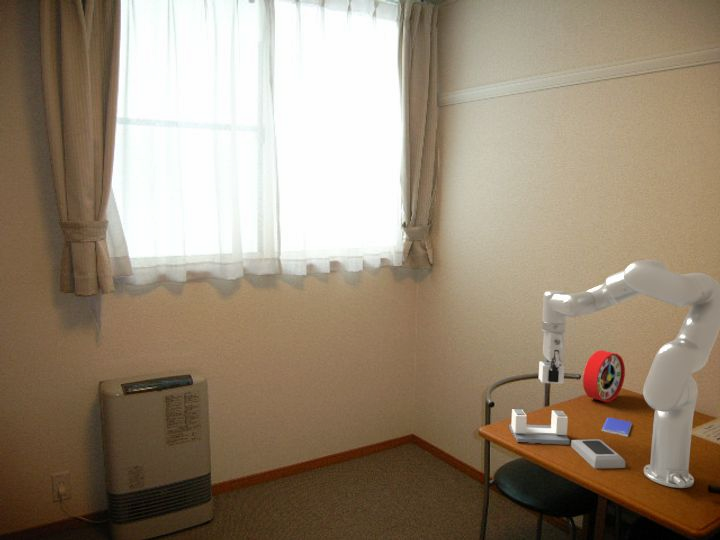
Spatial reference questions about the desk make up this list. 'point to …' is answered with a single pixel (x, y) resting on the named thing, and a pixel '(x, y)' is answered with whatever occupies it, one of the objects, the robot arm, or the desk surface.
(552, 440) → the board
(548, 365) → the module block
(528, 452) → the desk surface
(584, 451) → the grey bevelled device
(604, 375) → the toy clock
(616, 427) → the hard drive
